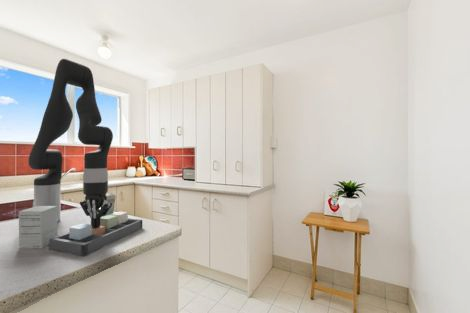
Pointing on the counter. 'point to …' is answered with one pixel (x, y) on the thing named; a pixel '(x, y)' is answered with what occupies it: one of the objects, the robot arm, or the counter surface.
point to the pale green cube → (108, 221)
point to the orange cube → (99, 230)
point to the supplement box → (37, 226)
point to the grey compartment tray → (94, 239)
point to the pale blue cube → (80, 231)
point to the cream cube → (121, 217)
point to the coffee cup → (110, 199)
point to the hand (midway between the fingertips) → (95, 227)
